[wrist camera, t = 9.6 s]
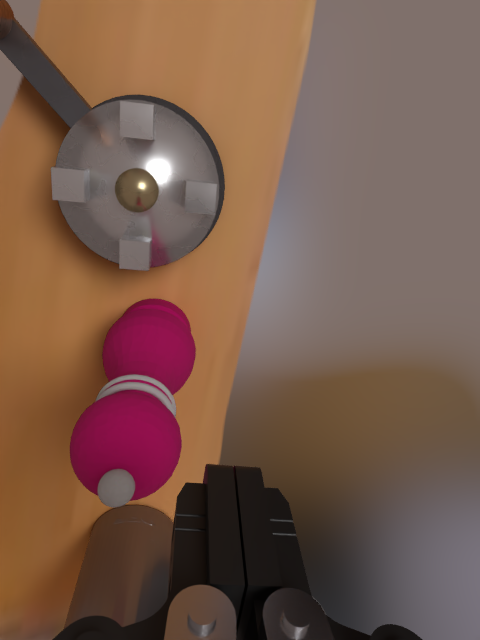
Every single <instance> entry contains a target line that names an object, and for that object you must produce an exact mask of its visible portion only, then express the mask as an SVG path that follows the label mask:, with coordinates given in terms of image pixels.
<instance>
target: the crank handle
mask: <svg viewBox="0 0 480 640" xmlns="http://www.w3.org/2000/svg"><path fill="white" fill-rule="evenodd" d="M0 50H1V51H2V52H3V53H4V54H5V55H6V56H7V58H8V59H9V60H10V61H11V62H12V63H13V64H14V65H15V66H16V68H17V69H18V70H19V71H20V72H21V73H22V74H23V75H24V77H25V78H26V79H27V80H28V81H29V82H30V83H31V84H32V86H33V87H34V88H35V89H36V90H37V91H38V92H39V93H40V94H41V96H42V97H43V98H44V99H45V100H46V101H47V102H48V103H49V105H50V106H51V107H52V108H53V109H54V110H55V111H56V112H57V114H58V115H59V116H60V117H61V118H62V119H63V120H64V121H65V122H66V124H67V125H68V126H69V127H70V128H71V129H70V130H69V132H68V134H67V135H66V137H65V138H64V140H63V143H62V145H61V147H60V150H59V153H58V156H57V160H56V166H54V167H51V179H52V199H53V200H58V202H59V205H60V208H61V211H62V213H63V215H64V217H65V219H66V221H67V223H68V224H69V226H70V227H71V229H72V230H73V232H74V233H75V234H76V235H77V237H78V238H79V239H80V240H81V241H82V242H83V243H84V244H85V245H86V246H88V247H89V248H90V249H91V250H93V251H94V252H95V253H97V254H98V255H100V256H102V257H104V258H106V259H107V260H110V261H112V262H115V263H118V264H119V269H132V270H145V271H149V269H150V267H157V266H161V265H165V264H168V263H171V262H174V261H176V260H178V259H180V258H182V257H183V256H185V255H186V254H188V253H189V252H190V251H192V250H193V249H194V248H195V247H196V246H197V245H198V244H199V243H200V242H201V241H202V239H203V238H204V237H205V235H206V234H207V232H208V230H209V229H210V227H211V225H212V222H213V220H214V218H215V214H216V211H217V207H218V200H219V180H218V174H217V169H216V165H215V162H214V160H213V157H212V154H211V152H210V150H209V148H208V146H207V145H206V143H205V141H204V140H203V139H202V137H201V136H200V134H199V133H198V132H197V131H196V130H195V129H194V127H193V126H192V125H191V124H189V123H188V122H187V121H186V120H185V119H184V118H182V117H181V116H179V115H178V114H176V113H175V112H173V111H172V110H170V109H168V108H166V107H164V106H161V105H158V104H155V103H152V102H147V101H142V100H119V101H114V102H110V103H106V104H104V105H101V106H99V107H96V108H95V109H92V108H91V106H90V105H89V104H88V103H87V102H86V101H85V99H84V98H83V97H82V96H81V95H80V94H79V92H78V91H77V90H76V89H75V88H74V87H73V85H72V84H71V83H70V82H69V81H68V80H67V78H66V77H65V76H64V75H63V74H62V73H61V71H60V70H59V69H58V68H57V67H56V66H55V64H54V63H53V62H52V61H51V60H50V59H49V57H48V56H47V55H46V54H45V53H44V52H43V50H42V49H41V48H40V47H39V46H38V45H37V43H36V42H35V41H34V40H33V39H32V38H31V36H30V35H29V34H28V33H27V32H26V31H25V29H24V28H23V27H22V26H21V25H20V24H19V22H18V21H17V20H16V19H15V18H14V14H13V11H12V9H11V7H10V5H9V4H8V3H7V1H6V0H0Z"/></svg>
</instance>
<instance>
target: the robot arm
mask: <svg viewBox="0 0 480 640" xmlns="http://www.w3.org/2000/svg"><path fill="white" fill-rule="evenodd" d="M53 640H422V639H421V638H420V637H418V636H417V635H416V634H415V633H413V632H412V631H410V630H408V629H406V628H404V627H401V626H398V625H393V624H387V625H382V626H380V627H378V628H377V629H376V630H375V631H374V632H373V633H372V635H371V636H370V635H367V634H364V633H362V632H359V631H356V630H354V629H351V628H348V627H346V626H343V625H341V624H339V623H337V622H335V621H334V620H332V619H331V618H330V617H328V616H327V615H326V614H325V612H324V610H323V608H322V606H321V605H320V604H319V603H318V602H317V601H316V600H315V599H314V598H313V597H312V595H311V592H310V588H309V584H308V580H307V576H306V573H305V568H304V564H303V560H302V556H301V551H300V547H299V543H298V540H297V537H296V531H295V527H294V523H293V519H292V514H291V511H290V507H289V503H288V502H287V500H286V499H285V497H284V496H283V495H282V493H281V492H280V491H279V489H278V488H264V483H263V477H262V472H261V469H260V468H257V467H242V466H234V467H233V466H228V465H227V466H226V465H214V464H206V467H205V473H204V479H203V484H201V483H185V485H184V487H183V488H182V490H181V491H180V493H179V495H178V496H177V503H176V510H175V517H174V524H173V522H172V521H171V520H170V518H168V517H167V516H166V515H165V514H164V513H162V512H160V511H158V510H156V509H153V508H150V507H147V506H140V505H128V506H122V507H118V508H115V509H112V510H110V511H108V512H107V513H105V514H103V515H102V516H101V517H100V518H99V519H98V520H97V521H96V523H95V524H94V526H93V529H92V532H91V535H90V539H89V542H88V546H87V549H86V553H85V556H84V560H83V563H82V566H81V570H80V573H79V577H78V580H77V584H76V587H75V591H74V594H73V598H72V601H71V605H70V608H69V612H68V615H67V619H66V622H65V626H64V630H63V631H62V632H60V633H59V634H58V635H57V636H56V637H55V638H54V639H53Z"/></svg>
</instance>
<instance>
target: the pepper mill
mask: <svg viewBox="0 0 480 640" xmlns="http://www.w3.org/2000/svg"><path fill="white" fill-rule="evenodd" d="M195 351H196V348H195V343H194V340H193V337H192V335H191V328H190V324H189V321H188V319H187V317H186V315H185V314H184V313H183V311H182V310H181V309H179V308H178V307H177V306H176V305H174V304H172V303H171V302H168V301H165V300H161V299H146V300H142V301H140V302H137V303H135V304H133V305H132V306H131V307H129V308H128V310H127V311H126V312H125V313H124V315H123V316H122V317H121V318H120V319H119V320H118V321H116V322H115V323H114V324H113V326H112V327H111V329H110V330H109V331H108V334H107V336H106V339H105V342H104V346H103V354H102V357H103V365H104V369H105V373H106V376H107V378H108V380H109V383H107V384H106V385H105V386H104V387H103V388H102V389H101V391H100V392H99V394H98V396H97V398H96V401H95V402H94V403H93V404H92V405H91V406H89V407H88V408H87V409H86V410H85V411H84V412H83V414H82V415H81V416H80V418H79V420H78V421H77V423H76V425H75V427H74V429H73V433H72V436H71V442H70V458H71V464H72V467H73V470H74V472H75V474H76V476H77V477H78V479H79V480H80V482H81V483H82V484H83V485H84V486H85V487H86V488H87V489H88V490H89V491H91V492H92V493H94V494H96V495H98V496H99V498H100V500H101V502H102V503H104V504H105V505H107V506H109V507H115V508H116V507H120V506H123V505H125V504H126V503H128V502H129V501H132V500H138V499H141V498H144V497H146V496H148V495H150V494H152V493H154V492H156V491H157V490H158V489H159V488H160V487H162V486H163V485H164V484H165V483H166V482H167V480H168V479H169V478H170V477H171V476H172V474H173V472H174V470H175V468H176V466H177V464H178V461H179V457H180V452H181V435H180V428H179V425H178V423H177V421H176V419H175V416H176V405H175V400H174V398H173V396H172V395H173V394H175V393H176V392H177V391H178V390H180V388H181V387H182V386H183V385H184V383H185V382H186V381H187V379H188V377H189V376H190V374H191V371H192V369H193V365H194V360H195Z"/></svg>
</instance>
